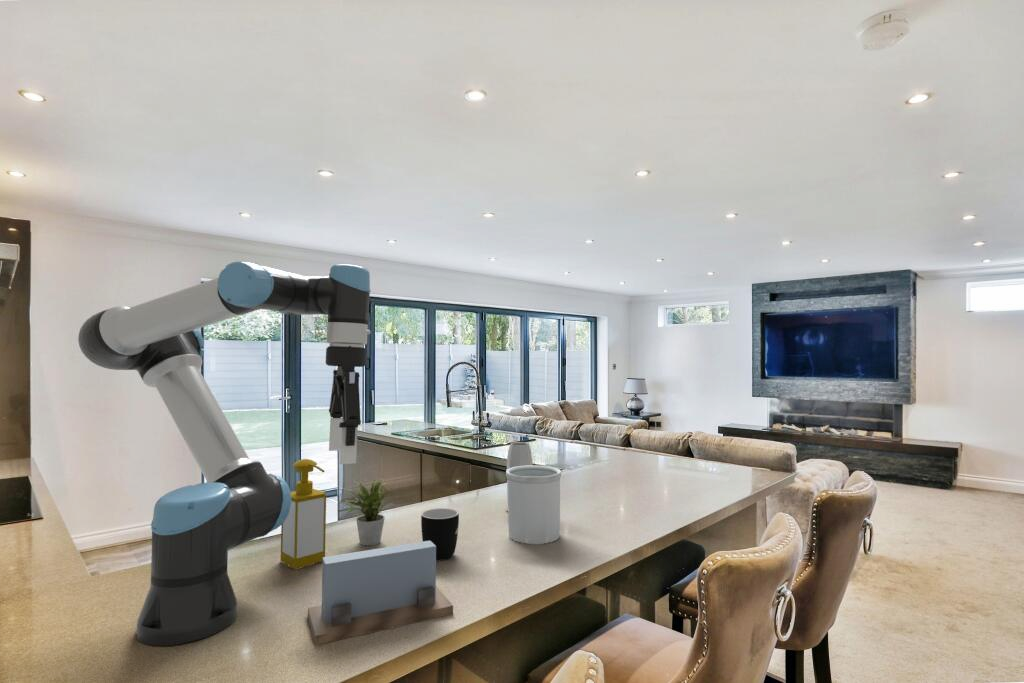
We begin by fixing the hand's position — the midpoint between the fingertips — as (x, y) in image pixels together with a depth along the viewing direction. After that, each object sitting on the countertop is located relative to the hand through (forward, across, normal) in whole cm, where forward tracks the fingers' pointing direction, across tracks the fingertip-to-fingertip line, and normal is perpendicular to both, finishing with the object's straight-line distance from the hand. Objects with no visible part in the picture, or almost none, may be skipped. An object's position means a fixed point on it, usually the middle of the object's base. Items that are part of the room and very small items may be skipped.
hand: (341, 456), depth 101 cm
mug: (+28, +18, -27) cm, 43 cm away
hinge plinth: (+28, -8, -7) cm, 30 cm away
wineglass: (+28, +42, -62) cm, 80 cm away
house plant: (+29, +34, -14) cm, 47 cm away
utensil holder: (+28, +19, -54) cm, 63 cm away
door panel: (+26, -8, -7) cm, 28 cm away
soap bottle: (+29, +24, +2) cm, 38 cm away
